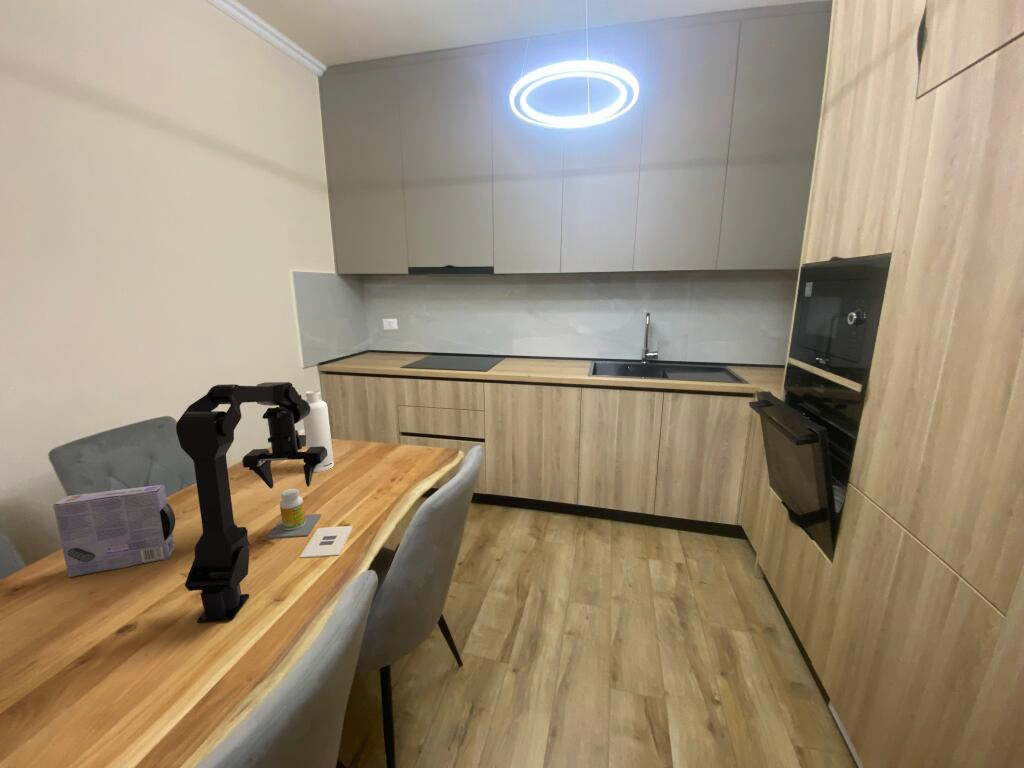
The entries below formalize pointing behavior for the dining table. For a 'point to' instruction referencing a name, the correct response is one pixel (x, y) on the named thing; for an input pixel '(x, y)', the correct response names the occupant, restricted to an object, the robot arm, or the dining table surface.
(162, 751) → the dining table surface
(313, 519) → the slate mat
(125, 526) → the cake pan box
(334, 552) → the tile
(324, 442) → the bottle
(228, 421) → the robot arm
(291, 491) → the supplement bottle
